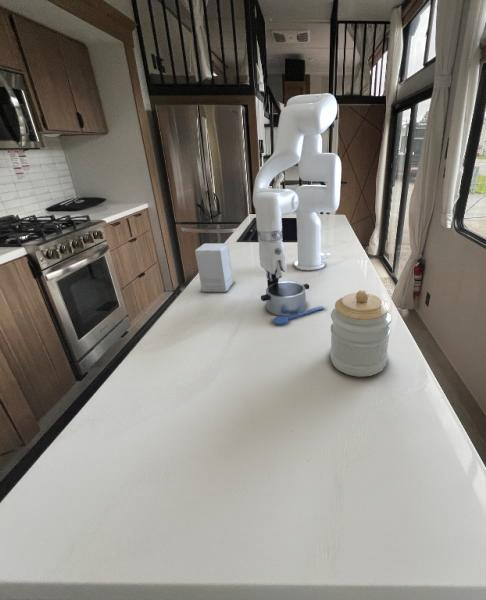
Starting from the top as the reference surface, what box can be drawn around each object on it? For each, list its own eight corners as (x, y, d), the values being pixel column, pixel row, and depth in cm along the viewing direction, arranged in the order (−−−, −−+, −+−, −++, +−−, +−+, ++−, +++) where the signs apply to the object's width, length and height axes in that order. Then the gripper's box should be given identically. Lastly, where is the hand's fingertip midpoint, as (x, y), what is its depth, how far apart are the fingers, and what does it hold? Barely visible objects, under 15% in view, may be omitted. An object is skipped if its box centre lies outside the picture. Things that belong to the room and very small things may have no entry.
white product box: (234, 282, 119) (229, 242, 113) (226, 292, 111) (220, 250, 105) (210, 281, 120) (204, 242, 114) (201, 291, 112) (193, 250, 106)
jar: (351, 385, 67) (355, 310, 60) (319, 353, 78) (319, 286, 70) (398, 366, 73) (408, 295, 65) (363, 339, 83) (368, 275, 75)
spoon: (318, 306, 100) (318, 303, 100) (326, 311, 97) (326, 309, 97) (271, 320, 93) (270, 318, 92) (278, 327, 90) (277, 324, 89)
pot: (298, 294, 109) (298, 277, 106) (318, 307, 100) (318, 289, 97) (255, 306, 101) (253, 288, 99) (272, 321, 92) (271, 302, 90)
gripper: (292, 238, 94) (294, 295, 102) (270, 229, 106) (273, 281, 113) (269, 242, 91) (273, 301, 98) (248, 232, 102) (253, 285, 110)
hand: (273, 290), depth 106 cm, fingers closed
